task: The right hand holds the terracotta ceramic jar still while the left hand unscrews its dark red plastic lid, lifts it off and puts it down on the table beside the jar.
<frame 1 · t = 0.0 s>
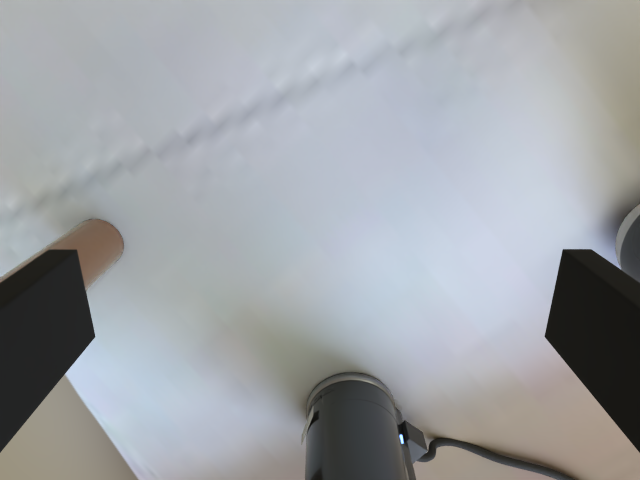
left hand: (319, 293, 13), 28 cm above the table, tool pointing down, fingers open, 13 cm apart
jar: (98, 242, 42), on the table
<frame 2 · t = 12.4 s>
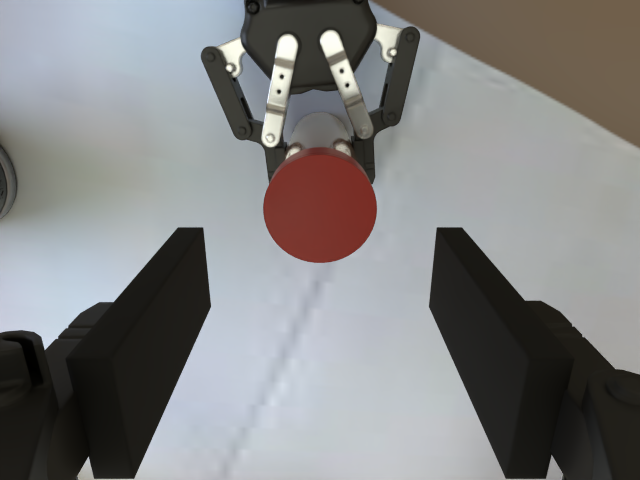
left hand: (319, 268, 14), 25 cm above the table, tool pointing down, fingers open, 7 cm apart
lid: (320, 208, 20), point 19 cm above the table, screwed on, not yet turned
jar: (319, 140, 37), on the table, touching right hand
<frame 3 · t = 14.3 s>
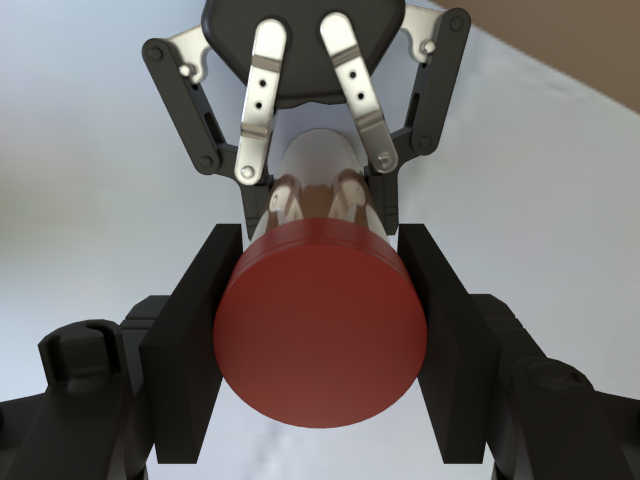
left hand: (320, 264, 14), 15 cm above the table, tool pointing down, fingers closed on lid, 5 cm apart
lid: (320, 336, 11), point 19 cm above the table, screwed on, not yet turned, touching left hand
jar: (320, 166, 28), on the table, touching right hand
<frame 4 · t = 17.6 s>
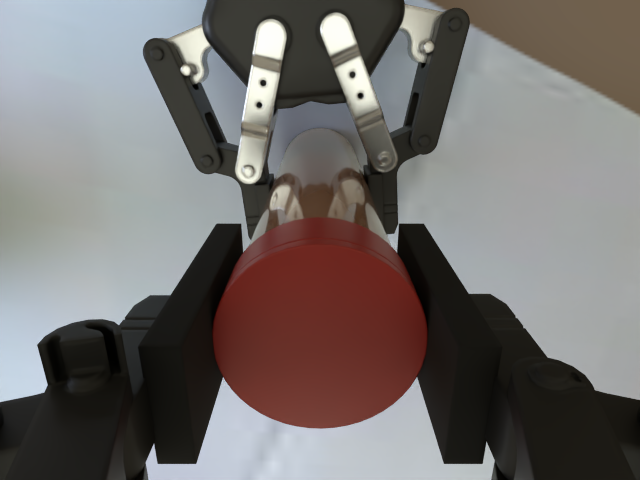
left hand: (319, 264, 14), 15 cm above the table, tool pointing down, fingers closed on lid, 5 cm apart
lid: (319, 336, 11), point 19 cm above the table, turned 104° so far, risen 0.2 cm, still on its thread, touching left hand
jar: (319, 165, 28), on the table, touching right hand
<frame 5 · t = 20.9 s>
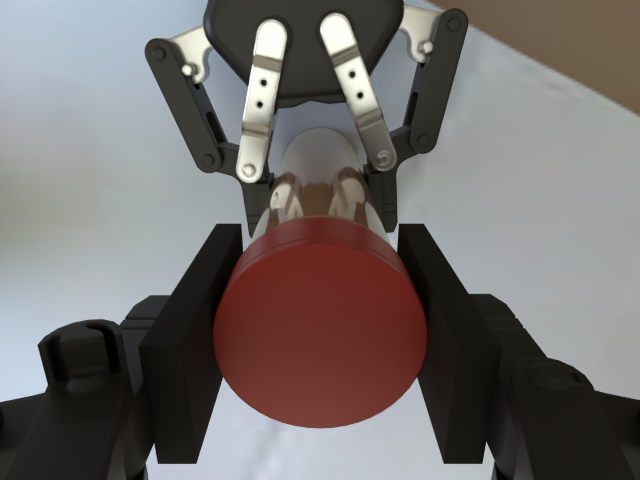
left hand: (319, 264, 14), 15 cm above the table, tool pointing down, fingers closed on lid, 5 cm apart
lid: (320, 336, 11), point 19 cm above the table, turned 208° so far, risen 0.4 cm, still on its thread, touching left hand
jar: (320, 164, 29), on the table, touching right hand
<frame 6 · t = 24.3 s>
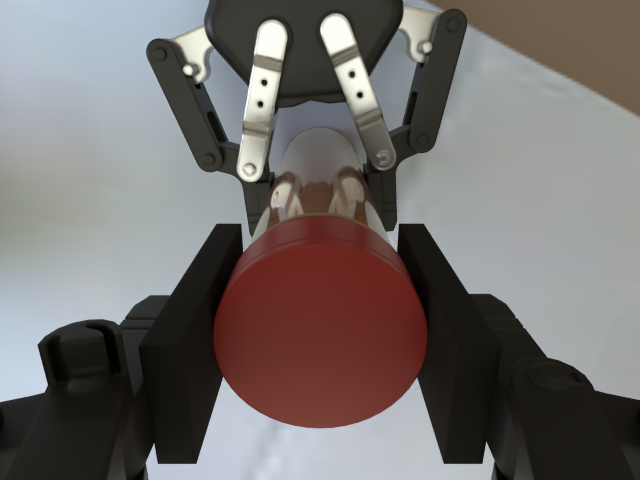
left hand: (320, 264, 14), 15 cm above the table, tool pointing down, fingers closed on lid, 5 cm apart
lid: (320, 335, 11), point 19 cm above the table, turned 313° so far, risen 0.5 cm, still on its thread, touching left hand
jar: (320, 164, 29), on the table, touching right hand
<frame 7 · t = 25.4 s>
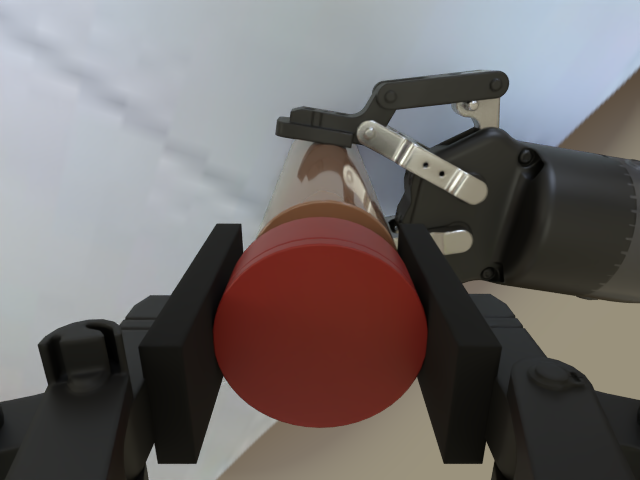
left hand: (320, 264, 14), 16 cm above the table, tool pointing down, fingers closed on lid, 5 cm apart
lid: (320, 335, 11), point 20 cm above the table, off its thread, touching left hand
jar: (323, 160, 30), on the table, touching right hand
when the left hand's fingers open (0 cm above the table, at t = 30.9 s): lid stays where it is, point 1 cm above the table.
when the right hand's fingers open (7 cm above the table, at t = 32.1 s): jar stays where it is, on the table.
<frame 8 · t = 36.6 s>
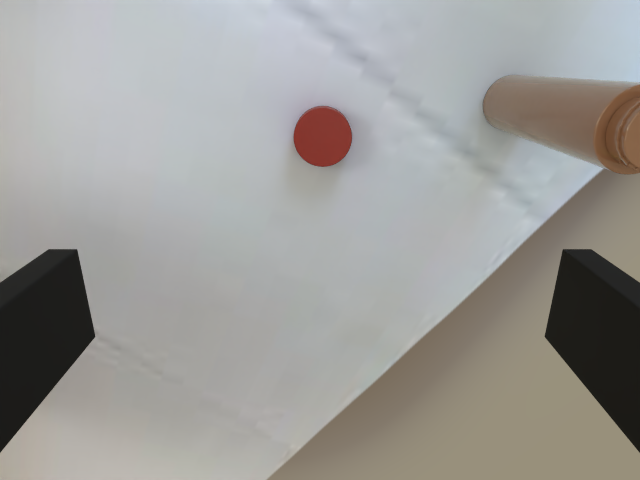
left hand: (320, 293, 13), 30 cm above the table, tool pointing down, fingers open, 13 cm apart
lid: (322, 137, 39), point 1 cm above the table, off its thread
jar: (509, 103, 39), on the table
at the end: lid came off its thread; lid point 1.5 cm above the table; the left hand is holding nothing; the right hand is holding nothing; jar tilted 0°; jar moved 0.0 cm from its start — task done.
